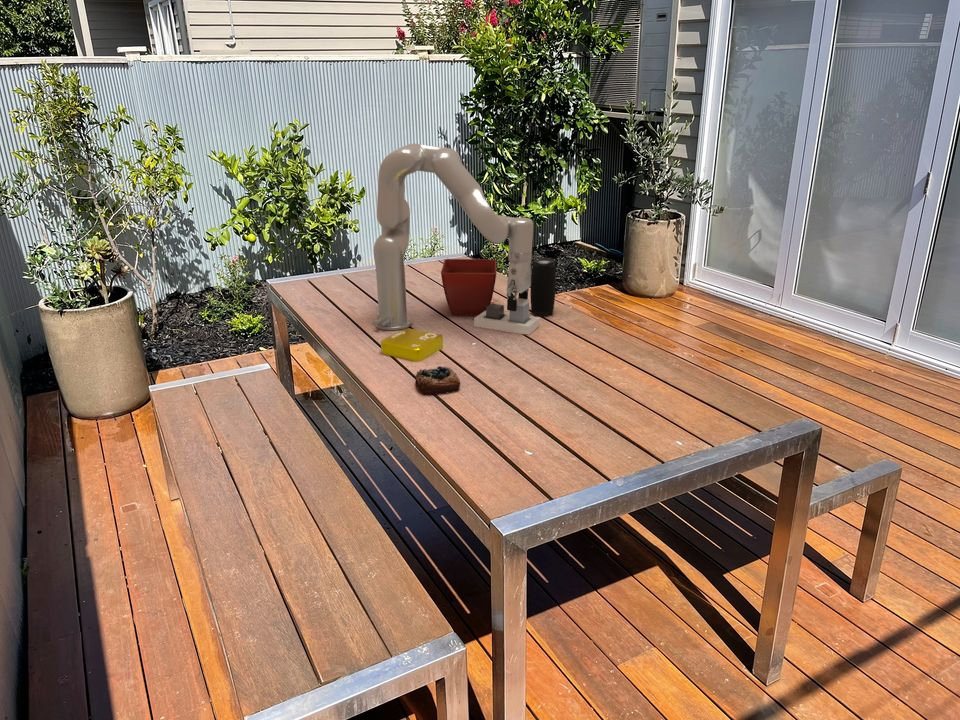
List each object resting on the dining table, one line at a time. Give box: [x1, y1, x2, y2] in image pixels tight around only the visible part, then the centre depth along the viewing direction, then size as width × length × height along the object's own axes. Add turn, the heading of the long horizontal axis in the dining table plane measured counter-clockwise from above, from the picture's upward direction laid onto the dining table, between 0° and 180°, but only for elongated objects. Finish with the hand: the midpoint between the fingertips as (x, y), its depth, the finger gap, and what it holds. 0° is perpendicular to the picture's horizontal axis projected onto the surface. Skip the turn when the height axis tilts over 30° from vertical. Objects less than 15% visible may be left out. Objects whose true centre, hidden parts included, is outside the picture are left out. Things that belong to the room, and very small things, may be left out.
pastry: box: [415, 365, 461, 396], centre depth 193 cm, size 11×12×6 cm
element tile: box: [380, 327, 444, 362], centre depth 219 cm, size 15×15×5 cm
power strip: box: [473, 302, 541, 336], centre depth 242 cm, size 18×20×7 cm
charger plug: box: [509, 297, 530, 324], centre depth 236 cm, size 5×5×9 cm
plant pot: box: [440, 258, 497, 317], centre depth 253 cm, size 19×19×17 cm
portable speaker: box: [529, 257, 557, 318], centre depth 249 cm, size 9×9×20 cm
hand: (517, 306), depth 235 cm, fingers open, 9 cm apart
